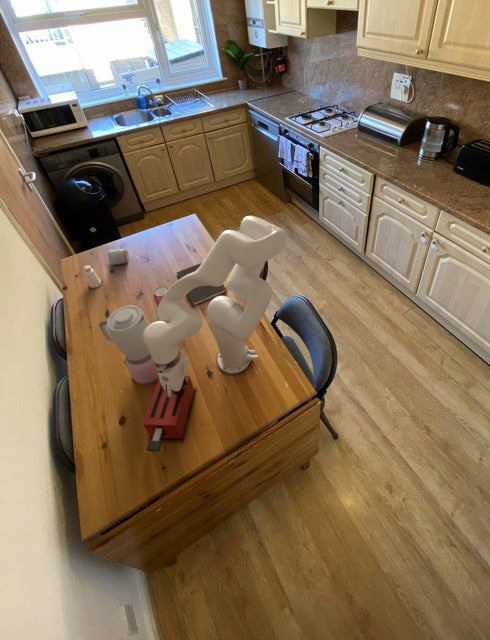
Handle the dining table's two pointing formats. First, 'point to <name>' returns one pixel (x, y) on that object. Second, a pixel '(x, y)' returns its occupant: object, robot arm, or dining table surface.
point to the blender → (131, 342)
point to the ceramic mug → (118, 256)
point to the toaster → (169, 412)
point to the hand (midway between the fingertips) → (180, 388)
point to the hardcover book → (201, 288)
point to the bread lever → (155, 441)
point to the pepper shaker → (92, 277)
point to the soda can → (160, 294)
